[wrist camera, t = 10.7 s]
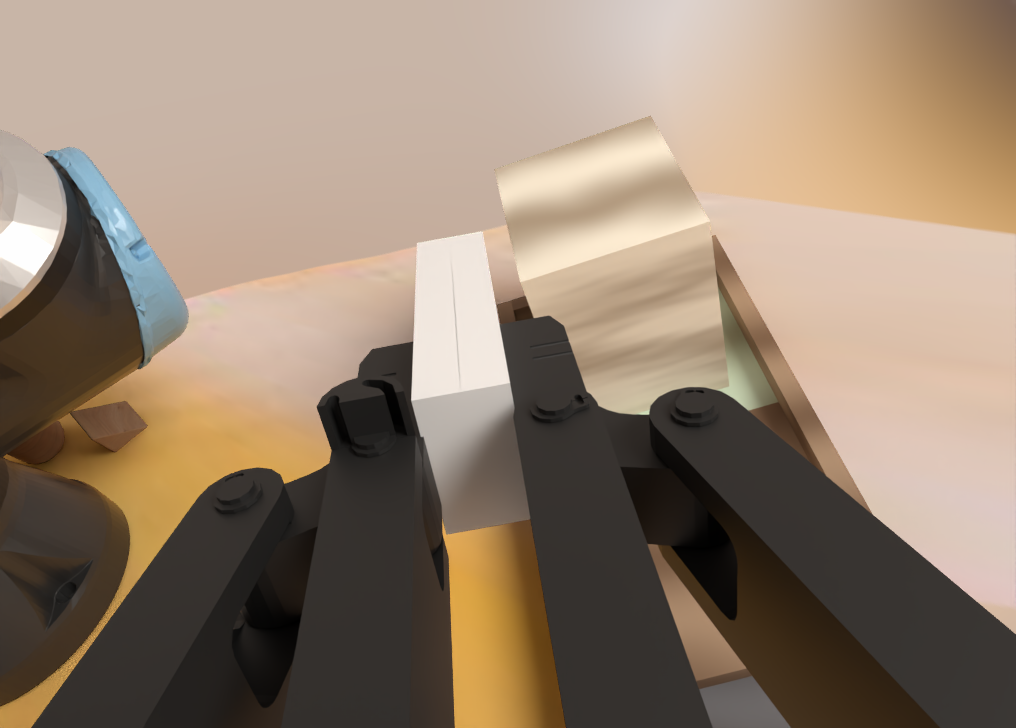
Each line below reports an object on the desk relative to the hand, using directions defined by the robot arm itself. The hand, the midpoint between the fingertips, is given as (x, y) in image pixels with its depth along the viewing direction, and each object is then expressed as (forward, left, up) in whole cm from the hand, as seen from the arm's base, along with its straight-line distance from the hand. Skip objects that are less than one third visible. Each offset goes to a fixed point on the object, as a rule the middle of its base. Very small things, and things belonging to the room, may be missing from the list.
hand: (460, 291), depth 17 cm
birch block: (-15, +11, -23) cm, 30 cm away
